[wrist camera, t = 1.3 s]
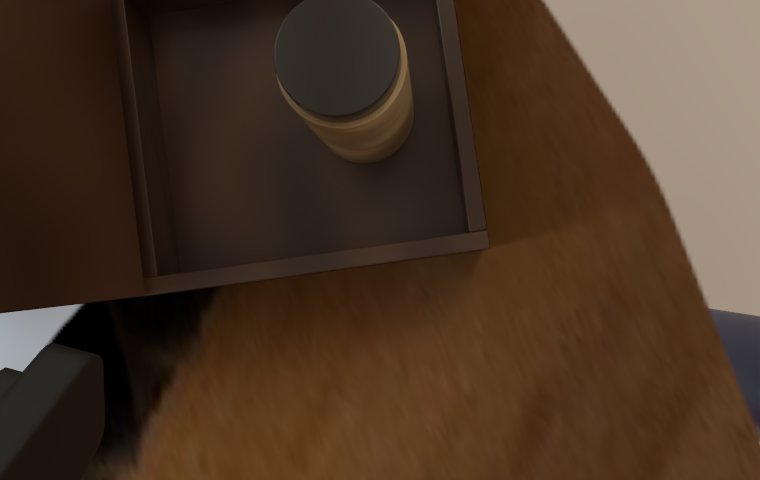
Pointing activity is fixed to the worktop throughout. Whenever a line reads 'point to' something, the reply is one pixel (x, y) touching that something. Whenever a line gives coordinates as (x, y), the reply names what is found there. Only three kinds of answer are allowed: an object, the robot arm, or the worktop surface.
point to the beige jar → (347, 76)
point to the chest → (282, 151)
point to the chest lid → (63, 159)
